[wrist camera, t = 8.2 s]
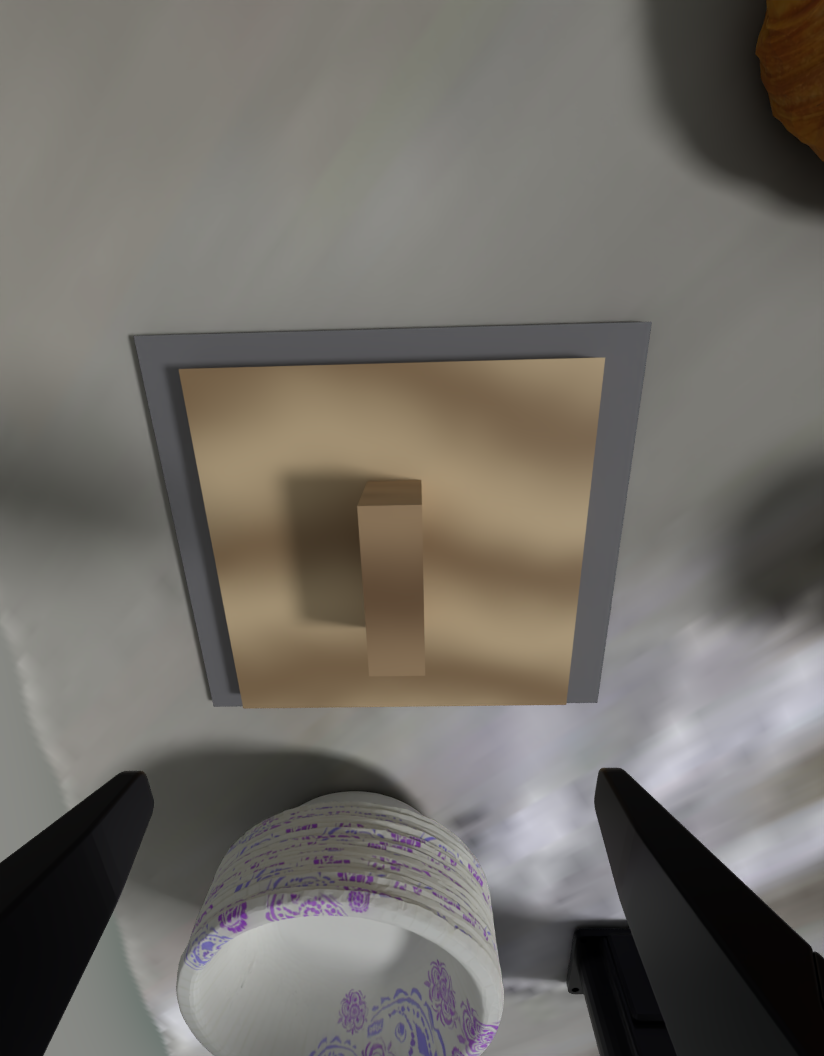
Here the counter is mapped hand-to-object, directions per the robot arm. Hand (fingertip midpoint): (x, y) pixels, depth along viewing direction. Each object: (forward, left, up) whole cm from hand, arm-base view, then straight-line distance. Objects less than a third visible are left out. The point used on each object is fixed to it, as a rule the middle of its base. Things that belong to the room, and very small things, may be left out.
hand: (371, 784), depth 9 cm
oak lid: (0, 0, -13) cm, 13 cm away
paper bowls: (-20, +3, -13) cm, 24 cm away
